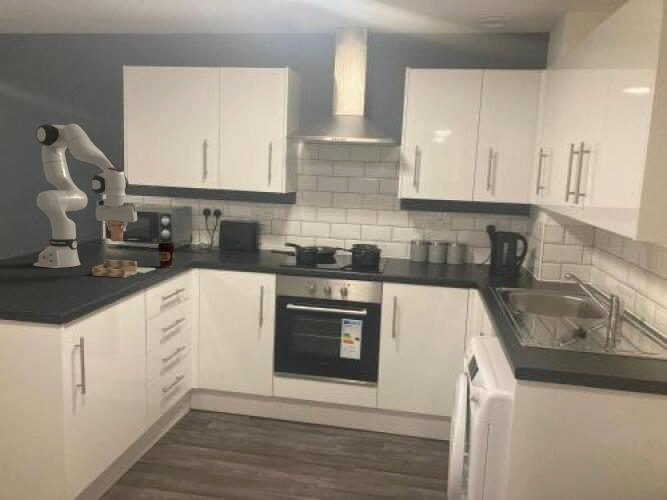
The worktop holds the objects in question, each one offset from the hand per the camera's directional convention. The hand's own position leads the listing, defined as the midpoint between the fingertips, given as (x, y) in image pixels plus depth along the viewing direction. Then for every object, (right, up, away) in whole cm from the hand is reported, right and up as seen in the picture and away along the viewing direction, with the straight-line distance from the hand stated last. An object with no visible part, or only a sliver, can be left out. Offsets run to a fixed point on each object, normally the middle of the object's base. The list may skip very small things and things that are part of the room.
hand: (116, 230), depth 278 cm
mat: (+6, -20, +13) cm, 24 cm away
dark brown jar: (+17, -18, +25) cm, 35 cm away
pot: (0, -5, +1) cm, 5 cm away
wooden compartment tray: (-1, -21, +1) cm, 21 cm away
